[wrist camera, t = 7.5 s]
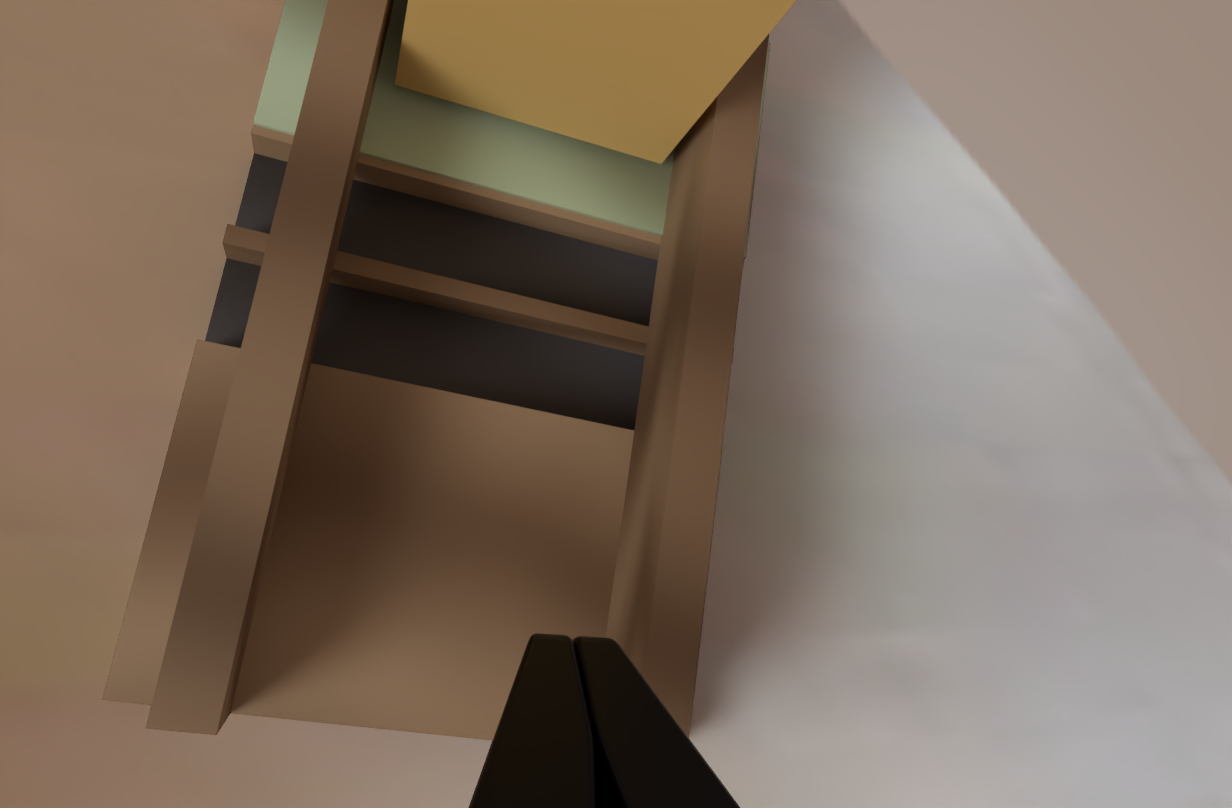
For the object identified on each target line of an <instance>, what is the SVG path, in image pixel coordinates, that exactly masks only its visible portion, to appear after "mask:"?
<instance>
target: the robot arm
mask: <svg viewBox="0 0 1232 808" xmlns="http://www.w3.org/2000/svg"><path fill="white" fill-rule="evenodd" d="M469 808H740V807H739V805H738V804H737V803H736V801H735V800H734V799H733V797H732V796H731V795H730V793H729V792H728V791H727V789H726V788H725V786H724V785H723V784H722V782H721V781H720V780H719V778H718V777H717V776H716V774H715V773H714V772H713V770H712V769H711V768H710V766H709V765H708V764H707V762H706V761H705V760H704V758H703V757H702V756H701V754H700V753H699V752H698V750H697V749H696V747H695V746H694V745H693V743H692V742H691V741H690V739H689V738H688V737H687V735H686V734H685V733H684V731H683V730H682V729H681V727H680V726H679V725H678V723H677V722H676V721H675V719H674V718H673V717H672V715H671V714H670V712H669V711H668V710H667V708H666V707H665V706H664V704H663V703H662V702H661V700H660V699H659V698H658V696H657V695H656V694H655V692H654V691H653V690H652V688H651V687H650V686H649V684H648V683H647V682H646V680H645V679H644V678H643V676H642V675H641V673H640V672H639V671H638V669H637V668H636V667H635V665H634V664H633V663H632V661H631V660H630V659H629V657H628V656H627V655H626V653H625V652H624V651H623V649H622V648H621V647H620V645H619V644H618V643H617V642H616V641H615V640H613V639H611V638H603V637H588V636H578V637H576V638H574V639H573V641H572V639H571V638H570V637H569V636H567V635H557V634H541V633H535V634H533V635H532V636H531V637H530V638H529V641H528V643H527V646H526V649H525V651H524V654H523V657H522V660H521V663H520V665H519V668H518V671H517V674H516V677H515V679H514V682H513V685H512V688H511V691H510V693H509V696H508V699H507V702H506V705H505V707H504V710H503V713H502V716H501V719H500V721H499V724H498V727H497V730H496V733H495V735H494V738H493V741H492V744H491V746H490V749H489V752H488V755H487V758H486V760H485V763H484V766H483V769H482V772H481V774H480V777H479V780H478V783H477V786H476V788H475V791H474V794H473V797H472V800H471V802H470V805H469Z"/></svg>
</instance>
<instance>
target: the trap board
mask: <svg viewBox="0 0 1232 808" xmlns="http://www.w3.org/2000/svg"><path fill="white" fill-rule="evenodd" d="M407 4H408V0H286V1H285V4H284V8H283V12H282V16H281V20H280V23H279V27H278V31H277V35H276V38H275V42H274V46H273V50H272V54H271V57H270V61H269V65H268V69H267V73H266V76H265V80H264V84H263V88H262V92H261V95H260V99H259V103H258V107H257V110H256V114H255V118H254V122H253V123H254V125H253V129H252V133H251V134H252V141H253V148H254V156H253V160H252V164H251V167H250V171H249V175H248V179H247V183H246V186H245V190H244V194H243V198H242V202H241V206H240V209H239V213H238V217H237V221H236V225H235V226H234V225H230V224H227V228H226V232H225V235H224V239H223V246H224V250H225V253H226V257H227V259H226V263H225V267H224V271H223V275H222V278H221V282H220V286H219V290H218V294H217V297H216V301H215V305H214V309H213V313H212V317H211V320H210V324H209V328H208V332H207V336H206V340H205V341H203V340H198V339H197V342H196V345H195V349H194V353H193V357H192V361H191V364H190V368H189V372H188V376H187V380H186V383H185V387H184V391H183V395H182V399H181V402H180V406H179V410H178V414H177V417H176V421H175V425H174V429H173V433H172V436H171V440H170V444H169V448H168V452H167V455H166V459H165V463H164V467H163V471H162V474H161V478H160V482H159V486H158V490H157V493H156V497H155V501H154V505H153V509H152V512H151V516H150V520H149V524H148V528H147V531H146V535H145V539H144V543H143V546H142V550H141V554H140V558H139V562H138V565H137V569H136V573H135V577H134V581H133V584H132V588H131V592H130V596H129V600H128V603H127V607H126V611H125V615H124V619H123V622H122V626H121V630H120V634H119V638H118V641H117V645H116V649H115V653H114V656H113V660H112V664H111V668H110V672H109V675H108V679H107V683H106V687H105V691H104V694H103V698H102V700H109V701H119V702H128V703H138V704H148V705H151V709H150V713H149V717H148V721H147V725H146V728H149V729H159V730H169V731H180V732H190V733H200V734H211V735H217V733H218V731H219V730H220V728H221V727H222V725H223V724H224V722H225V721H226V719H227V718H228V716H229V715H230V713H234V714H244V715H254V716H263V717H273V718H283V719H292V720H302V721H311V722H321V723H331V724H340V725H350V726H360V727H369V728H379V729H388V730H398V731H408V732H417V733H427V734H437V735H446V736H456V737H466V738H475V739H485V740H493V738H494V735H495V733H496V730H497V727H498V724H499V721H500V719H501V716H502V713H503V710H504V707H505V705H506V702H507V699H508V696H509V693H510V691H511V688H512V685H513V682H514V679H515V677H516V674H517V671H518V668H519V665H520V663H521V660H522V657H523V654H524V651H525V649H526V646H527V643H528V641H529V638H530V637H531V636H532V635H533V634H535V633H541V634H557V635H567V636H569V637H570V638H571V639H572V641H573V639H574V638H576V637H578V636H588V637H603V638H611V639H613V640H615V641H616V642H617V643H618V644H619V645H620V647H621V648H622V649H623V651H624V652H625V653H626V655H627V656H628V657H629V659H630V660H631V661H632V663H633V664H634V665H635V667H636V668H637V669H638V671H639V672H640V673H641V675H642V676H643V678H644V679H645V680H646V682H647V683H648V684H649V686H650V687H651V688H652V690H653V691H654V692H655V694H656V695H657V696H658V698H659V699H660V700H661V702H662V703H663V704H664V706H665V707H666V708H667V710H668V711H669V712H670V714H671V715H672V717H673V718H674V719H675V721H676V722H677V723H678V725H679V726H680V727H681V729H682V730H683V731H684V733H685V734H686V735H687V737H688V738H689V734H690V726H691V717H692V708H693V700H694V691H695V682H696V673H697V665H698V656H699V647H700V638H701V630H702V621H703V612H704V603H705V595H706V586H707V577H708V568H709V560H710V551H711V542H712V533H713V525H714V516H715V507H716V498H717V490H718V481H719V472H720V463H721V455H722V441H723V432H724V423H725V415H726V406H727V397H728V389H729V380H730V371H731V364H732V358H733V350H734V347H733V345H734V336H735V327H736V319H737V310H738V301H739V292H740V284H741V275H742V267H743V262H744V258H746V251H747V242H748V233H749V225H750V216H751V207H752V198H753V190H754V181H755V172H756V163H757V154H758V146H759V137H760V128H761V119H762V111H763V102H764V93H765V84H766V75H767V67H768V58H769V49H770V43H768V39H769V34H768V35H767V37H766V38H765V39H764V40H763V41H762V43H761V44H760V45H759V46H758V47H757V49H756V50H755V51H754V52H753V53H752V55H751V56H750V57H749V58H748V60H747V61H746V62H745V63H744V64H743V66H742V67H741V68H740V69H739V70H738V72H737V73H736V74H735V75H734V76H733V78H732V79H731V80H730V81H729V83H728V84H727V85H726V86H725V87H724V89H723V90H722V91H721V92H720V93H719V95H718V96H717V97H716V98H715V99H714V101H713V102H712V103H711V104H710V106H709V107H708V108H707V109H706V110H705V112H704V113H703V114H702V115H701V116H700V118H699V119H698V120H697V121H696V122H695V124H694V125H693V126H692V127H691V128H690V130H689V131H688V132H687V133H686V135H685V136H684V137H683V138H682V139H681V141H680V142H679V143H678V144H677V145H676V147H675V148H674V149H673V150H672V151H671V153H670V154H669V155H668V156H667V158H666V159H665V160H664V161H663V162H662V164H659V163H656V162H653V161H649V160H646V159H643V158H639V157H636V156H633V155H629V154H626V153H623V152H619V151H616V150H612V149H609V148H606V147H602V146H599V145H596V144H592V143H589V142H586V141H582V140H579V139H576V138H572V137H569V136H565V135H562V134H559V133H555V132H552V131H549V130H545V129H542V128H539V127H535V126H532V125H529V124H525V123H522V122H518V121H515V120H512V119H508V118H505V117H502V116H498V115H495V114H492V113H488V112H485V111H482V110H478V109H475V108H471V107H468V106H465V105H461V104H458V103H455V102H451V101H448V100H445V99H441V98H438V97H435V96H431V95H428V94H424V93H421V92H418V91H414V90H411V89H408V88H404V87H401V86H398V85H395V79H396V73H397V67H398V61H399V54H400V48H401V42H402V35H403V29H404V23H405V17H406V10H407Z"/></svg>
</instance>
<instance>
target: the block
mask: <svg viewBox="0 0 1232 808" xmlns="http://www.w3.org/2000/svg"><path fill="white" fill-rule="evenodd" d="M795 1H796V0H408V4H407V10H406V17H405V23H404V29H403V35H402V42H401V48H400V54H399V61H398V67H397V73H396V79H395V85H398V86H401V87H404V88H408V89H411V90H414V91H418V92H421V93H424V94H428V95H431V96H435V97H438V98H441V99H445V100H448V101H451V102H455V103H458V104H461V105H465V106H468V107H471V108H475V109H478V110H482V111H485V112H488V113H492V114H495V115H498V116H502V117H505V118H508V119H512V120H515V121H518V122H522V123H525V124H529V125H532V126H535V127H539V128H542V129H545V130H549V131H552V132H555V133H559V134H562V135H565V136H569V137H572V138H576V139H579V140H582V141H586V142H589V143H592V144H596V145H599V146H602V147H606V148H609V149H612V150H616V151H619V152H623V153H626V154H629V155H633V156H636V157H639V158H643V159H646V160H649V161H653V162H656V163H659V164H662V162H663V161H664V160H665V159H666V158H667V156H668V155H669V154H670V153H671V151H672V150H673V149H674V148H675V147H676V145H677V144H678V143H679V142H680V141H681V139H682V138H683V137H684V136H685V135H686V133H687V132H688V131H689V130H690V128H691V127H692V126H693V125H694V124H695V122H696V121H697V120H698V119H699V118H700V116H701V115H702V114H703V113H704V112H705V110H706V109H707V108H708V107H709V106H710V104H711V103H712V102H713V101H714V99H715V98H716V97H717V96H718V95H719V93H720V92H721V91H722V90H723V89H724V87H725V86H726V85H727V84H728V83H729V81H730V80H731V79H732V78H733V76H734V75H735V74H736V73H737V72H738V70H739V69H740V68H741V67H742V66H743V64H744V63H745V62H746V61H747V60H748V58H749V57H750V56H751V55H752V53H753V52H754V51H755V50H756V49H757V47H758V46H759V45H760V44H761V43H762V41H763V40H764V39H765V38H766V37H767V35H768V34H769V33H770V32H771V30H772V29H773V28H774V27H775V26H776V24H777V23H778V22H779V21H780V20H781V18H782V17H783V16H784V15H785V14H786V12H787V11H788V10H789V9H790V8H791V6H792V5H793V4H794V3H795Z"/></svg>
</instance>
